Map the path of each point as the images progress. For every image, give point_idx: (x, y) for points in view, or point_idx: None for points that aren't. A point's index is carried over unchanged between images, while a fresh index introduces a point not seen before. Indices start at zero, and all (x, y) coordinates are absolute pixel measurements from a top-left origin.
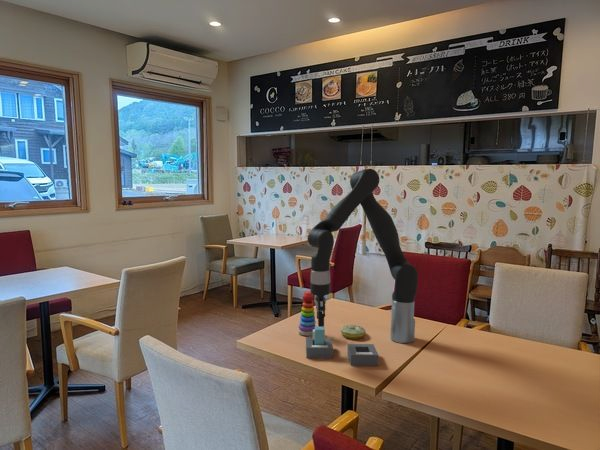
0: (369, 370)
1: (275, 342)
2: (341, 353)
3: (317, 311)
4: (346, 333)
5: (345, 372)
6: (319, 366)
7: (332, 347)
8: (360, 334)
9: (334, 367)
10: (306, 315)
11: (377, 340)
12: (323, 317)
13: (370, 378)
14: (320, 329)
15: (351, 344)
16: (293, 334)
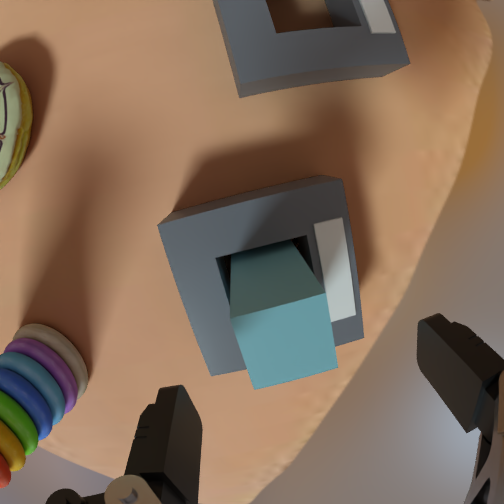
0: (398, 3)
1: (208, 450)
2: (241, 132)
3: (194, 488)
4: (15, 151)
5: (446, 107)
6: (419, 230)
7: (332, 184)
8: (13, 72)
9: (417, 157)
10: (32, 431)
11: (34, 4)
12: (495, 373)
13: (455, 17)
14: (329, 330)
15: (243, 57)
16: (96, 408)
